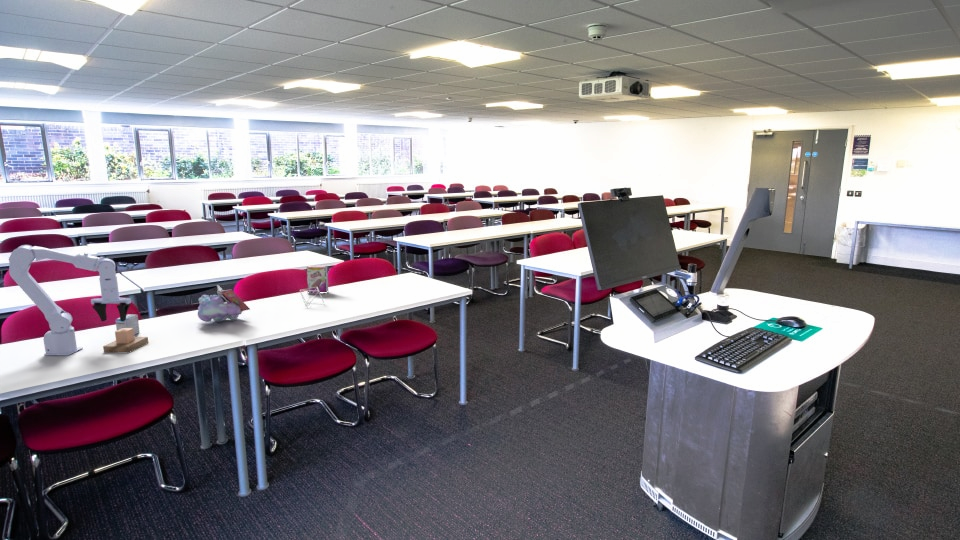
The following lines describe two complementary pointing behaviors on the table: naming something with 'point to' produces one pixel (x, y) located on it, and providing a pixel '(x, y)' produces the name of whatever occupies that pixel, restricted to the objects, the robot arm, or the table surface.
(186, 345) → the table surface
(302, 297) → the geometric polyhedron
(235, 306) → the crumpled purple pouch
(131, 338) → the terracotta block
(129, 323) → the medicine box
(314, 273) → the candy bar box
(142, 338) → the walnut block
